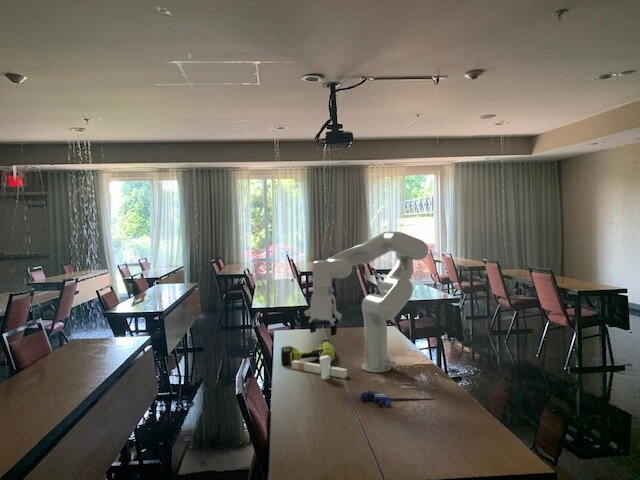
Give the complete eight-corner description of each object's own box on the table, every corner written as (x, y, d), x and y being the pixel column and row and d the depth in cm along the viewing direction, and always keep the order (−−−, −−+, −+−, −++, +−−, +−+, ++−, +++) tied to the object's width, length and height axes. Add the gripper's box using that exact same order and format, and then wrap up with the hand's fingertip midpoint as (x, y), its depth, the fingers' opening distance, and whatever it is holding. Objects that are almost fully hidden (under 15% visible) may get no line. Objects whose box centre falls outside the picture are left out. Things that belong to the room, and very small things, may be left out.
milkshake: (323, 375, 181) (322, 351, 181) (333, 377, 178) (332, 353, 177) (316, 378, 177) (315, 353, 177) (326, 381, 174) (325, 356, 174)
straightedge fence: (347, 376, 179) (347, 368, 179) (344, 378, 177) (343, 370, 177) (295, 366, 193) (294, 359, 193) (291, 368, 191) (291, 361, 190)
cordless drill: (282, 349, 219) (333, 348, 220) (279, 367, 194) (336, 365, 195) (282, 336, 219) (332, 334, 219) (279, 351, 194) (336, 350, 195)
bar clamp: (362, 401, 147) (359, 390, 157) (362, 409, 148) (359, 397, 157) (458, 403, 147) (449, 391, 157) (458, 410, 148) (449, 398, 158)
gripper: (345, 291, 175) (346, 334, 175) (309, 288, 184) (310, 329, 185) (336, 293, 169) (337, 338, 169) (299, 291, 178) (300, 333, 178)
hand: (323, 333), depth 177 cm, fingers open, 9 cm apart
